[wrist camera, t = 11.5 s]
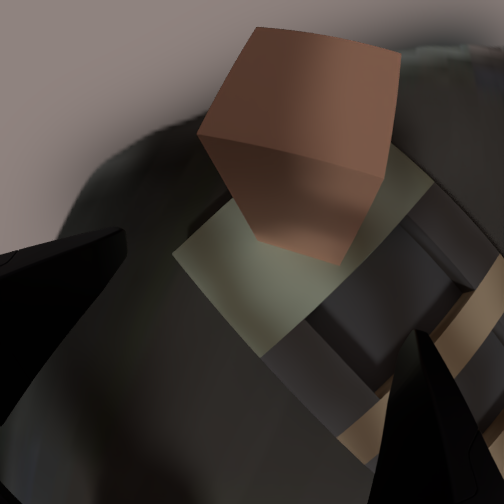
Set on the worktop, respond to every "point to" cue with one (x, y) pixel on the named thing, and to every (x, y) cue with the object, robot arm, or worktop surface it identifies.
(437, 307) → the board
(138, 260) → the worktop surface
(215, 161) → the brown rectangular block
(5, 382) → the robot arm
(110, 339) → the worktop surface
